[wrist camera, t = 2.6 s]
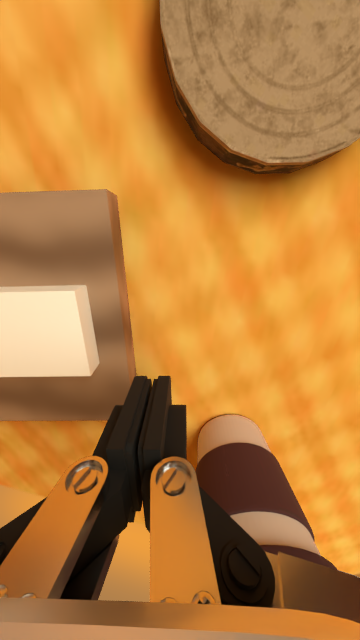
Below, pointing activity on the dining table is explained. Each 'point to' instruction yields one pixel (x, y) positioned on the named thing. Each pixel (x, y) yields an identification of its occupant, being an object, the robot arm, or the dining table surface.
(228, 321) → the dining table surface
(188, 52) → the wood slice coaster
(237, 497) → the coffee cup
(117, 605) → the robot arm
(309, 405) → the dining table surface
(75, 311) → the cream foam board
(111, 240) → the panel
